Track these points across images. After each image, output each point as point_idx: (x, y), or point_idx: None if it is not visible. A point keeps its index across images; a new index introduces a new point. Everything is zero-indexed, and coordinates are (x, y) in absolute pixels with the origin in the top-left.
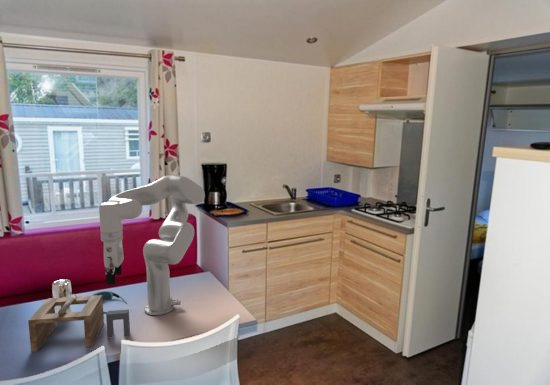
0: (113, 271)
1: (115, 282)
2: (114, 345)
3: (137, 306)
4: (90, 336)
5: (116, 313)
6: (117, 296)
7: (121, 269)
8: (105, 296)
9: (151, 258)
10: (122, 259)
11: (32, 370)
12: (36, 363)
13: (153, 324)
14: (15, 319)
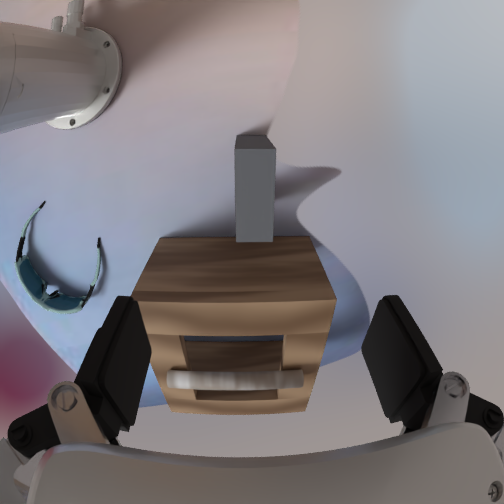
0: (468, 399)
1: (400, 302)
2: (318, 171)
3: (55, 162)
4: (316, 253)
5: (271, 199)
6: (22, 242)
7: (108, 331)
8: (29, 273)
9: None
10: (162, 502)
11: (367, 320)
12: (344, 324)
13: (190, 62)
14: (154, 396)
